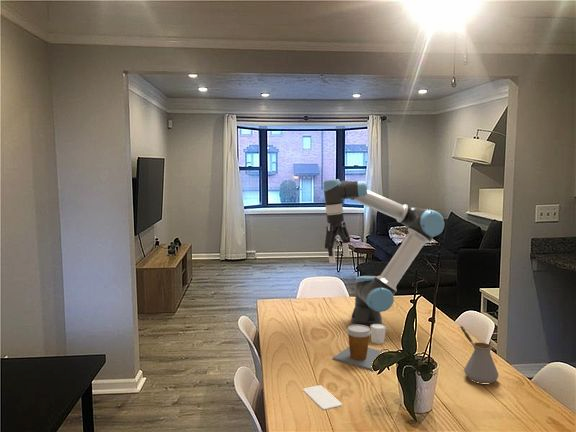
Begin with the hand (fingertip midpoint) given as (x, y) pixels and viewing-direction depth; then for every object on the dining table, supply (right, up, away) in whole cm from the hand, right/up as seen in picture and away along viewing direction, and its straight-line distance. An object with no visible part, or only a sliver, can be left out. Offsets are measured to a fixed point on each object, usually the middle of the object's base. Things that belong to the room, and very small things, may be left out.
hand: (339, 259), depth 208 cm
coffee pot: (+46, -39, -38) cm, 71 cm away
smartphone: (-12, -41, -56) cm, 70 cm away
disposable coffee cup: (+5, -37, -25) cm, 45 cm away
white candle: (+16, -36, -6) cm, 40 cm away
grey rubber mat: (+7, -37, -23) cm, 45 cm away
